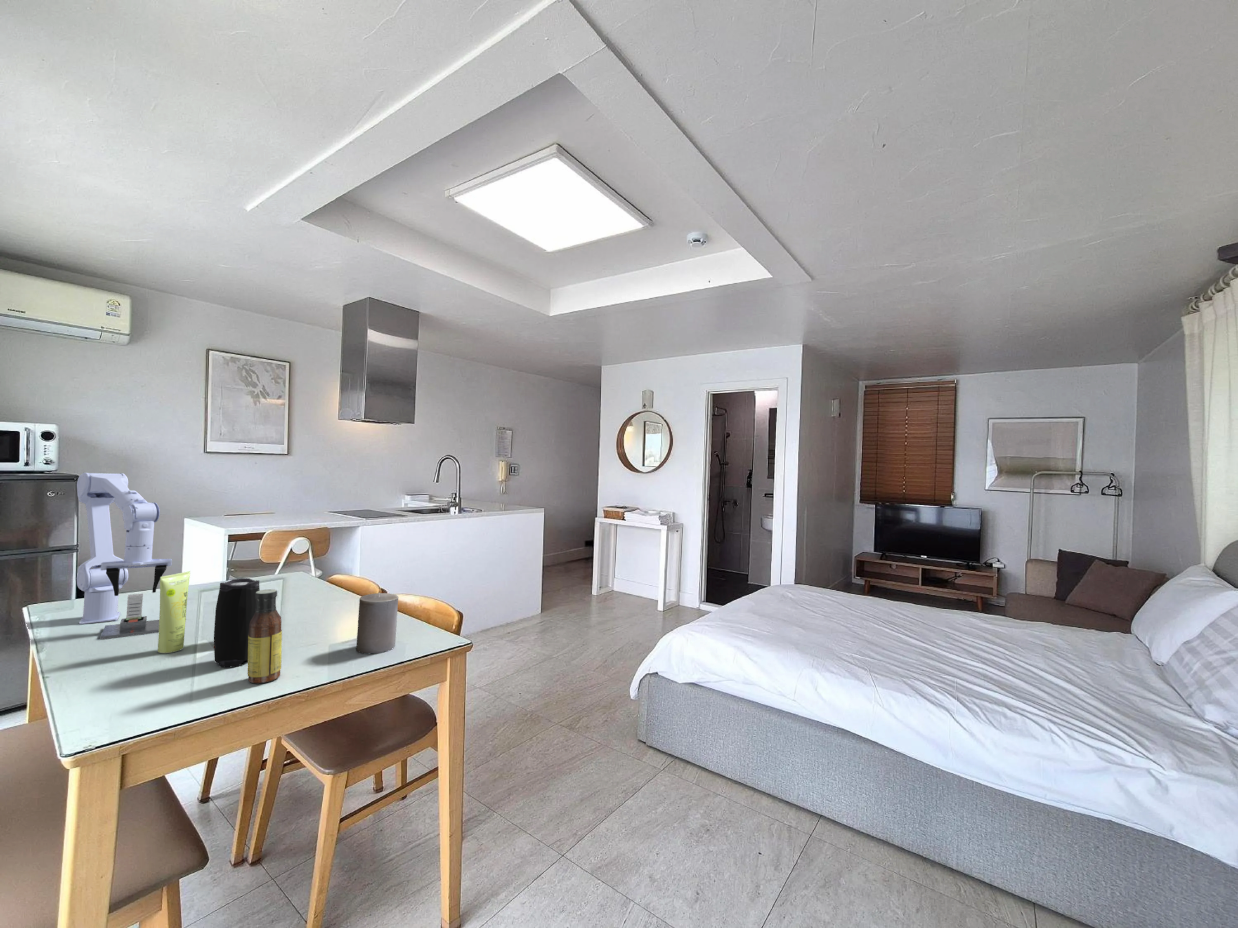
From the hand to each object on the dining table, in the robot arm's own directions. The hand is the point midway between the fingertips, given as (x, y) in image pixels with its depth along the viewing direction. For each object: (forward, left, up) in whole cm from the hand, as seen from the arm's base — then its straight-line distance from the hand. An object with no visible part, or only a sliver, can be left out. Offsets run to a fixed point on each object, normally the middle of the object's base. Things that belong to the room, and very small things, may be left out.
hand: (135, 593), depth 143 cm
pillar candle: (+52, +50, -11) cm, 73 cm away
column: (0, 0, -7) cm, 7 cm away
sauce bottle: (+60, +24, -10) cm, 65 cm away
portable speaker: (+44, +20, -10) cm, 49 cm away
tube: (+26, +8, -10) cm, 29 cm away
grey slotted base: (0, 0, -10) cm, 10 cm away
